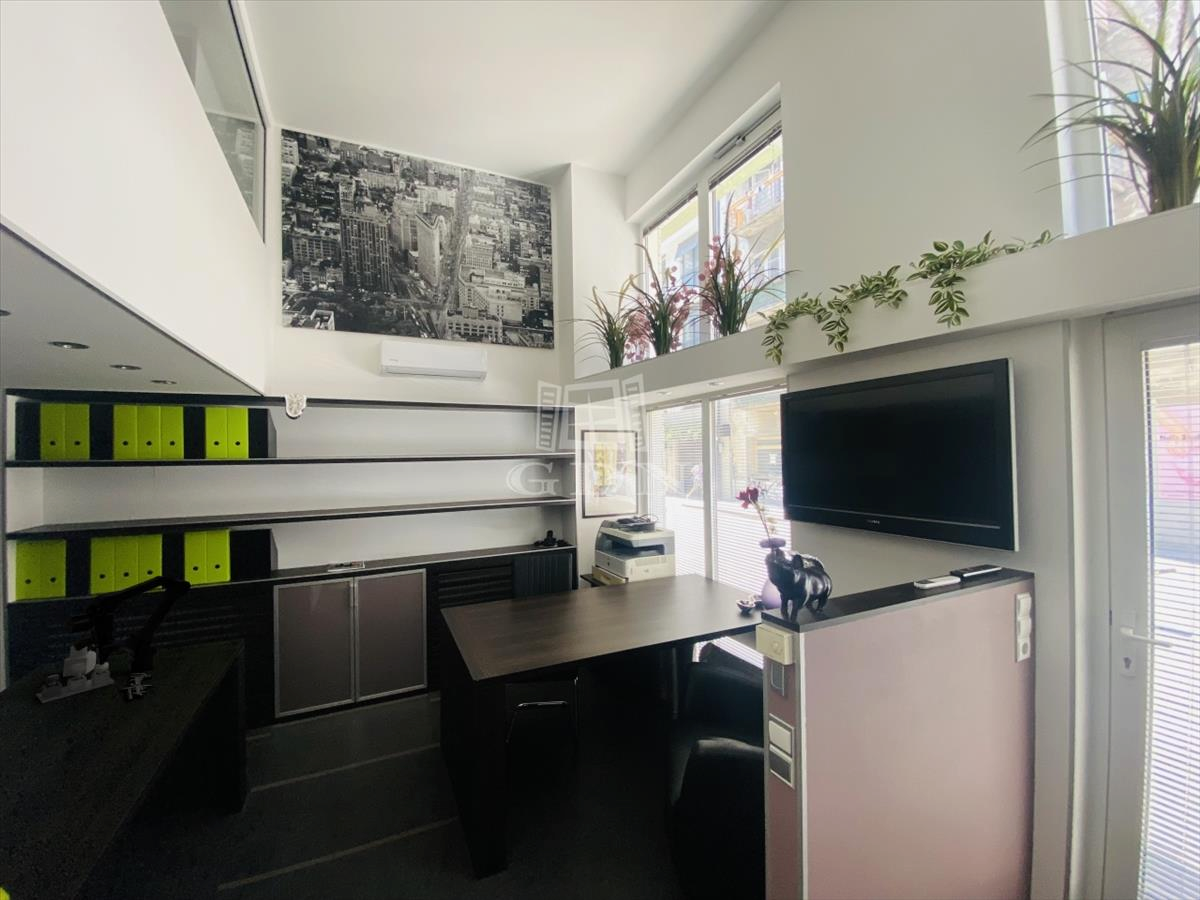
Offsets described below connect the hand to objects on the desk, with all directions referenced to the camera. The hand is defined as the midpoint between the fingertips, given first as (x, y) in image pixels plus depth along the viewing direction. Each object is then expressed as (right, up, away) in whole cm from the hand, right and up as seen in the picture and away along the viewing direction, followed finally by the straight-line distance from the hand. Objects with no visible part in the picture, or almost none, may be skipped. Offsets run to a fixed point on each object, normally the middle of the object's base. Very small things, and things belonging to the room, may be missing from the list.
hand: (101, 664), depth 188 cm
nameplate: (+17, -9, -3) cm, 19 cm away
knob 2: (0, -6, 0) cm, 6 cm away
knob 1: (-3, -3, -6) cm, 7 cm away
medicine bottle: (-18, -7, +8) cm, 21 cm away
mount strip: (-4, -7, -6) cm, 10 cm away
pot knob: (-7, -3, -11) cm, 14 cm away
